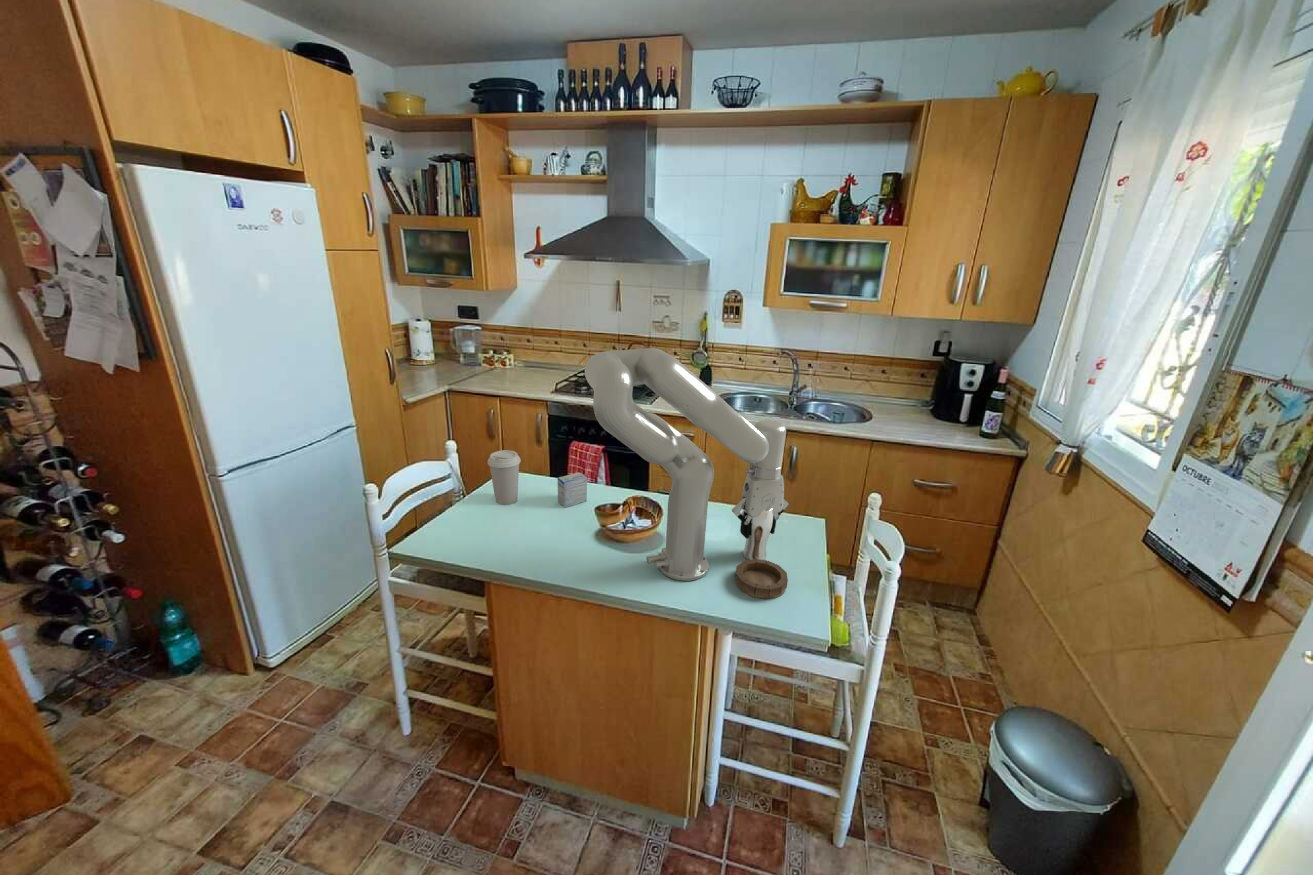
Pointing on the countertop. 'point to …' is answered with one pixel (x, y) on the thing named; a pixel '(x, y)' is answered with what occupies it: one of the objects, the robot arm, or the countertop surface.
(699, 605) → the countertop surface
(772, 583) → the round tray
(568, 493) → the medicine box
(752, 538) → the beer glass
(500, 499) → the coffee cup
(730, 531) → the countertop surface
